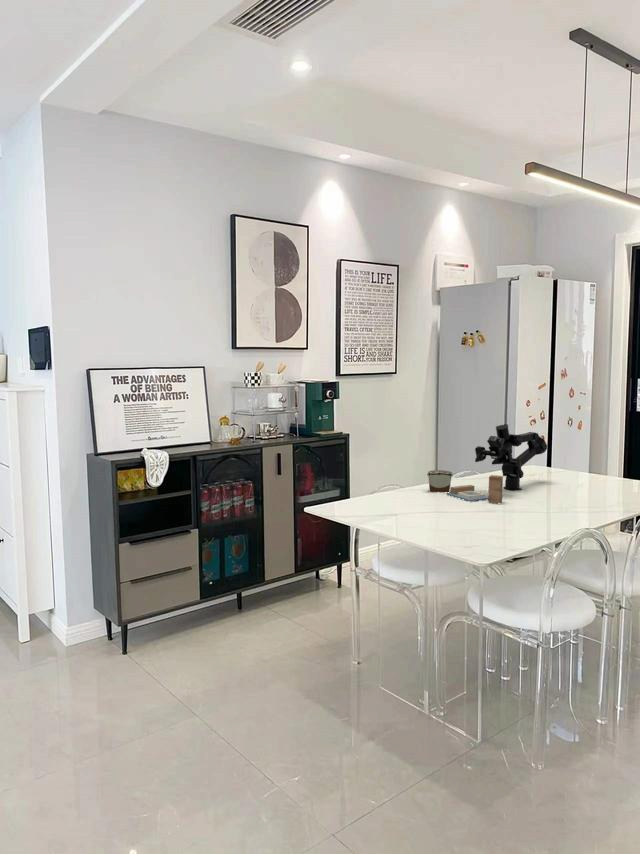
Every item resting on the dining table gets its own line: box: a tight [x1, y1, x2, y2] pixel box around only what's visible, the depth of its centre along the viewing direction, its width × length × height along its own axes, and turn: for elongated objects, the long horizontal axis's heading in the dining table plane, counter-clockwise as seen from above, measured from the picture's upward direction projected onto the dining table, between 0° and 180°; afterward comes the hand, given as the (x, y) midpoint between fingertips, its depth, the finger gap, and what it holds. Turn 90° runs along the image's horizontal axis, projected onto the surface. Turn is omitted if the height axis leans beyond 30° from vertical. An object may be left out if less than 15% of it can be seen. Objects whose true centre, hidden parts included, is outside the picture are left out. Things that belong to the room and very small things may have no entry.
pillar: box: [487, 474, 504, 504], centre depth 310 cm, size 5×5×12 cm
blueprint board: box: [446, 484, 488, 502], centre depth 322 cm, size 14×17×4 cm
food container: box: [427, 469, 453, 493], centre depth 334 cm, size 12×6×10 cm, turn 84°
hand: (483, 462), depth 321 cm, fingers open, 9 cm apart
